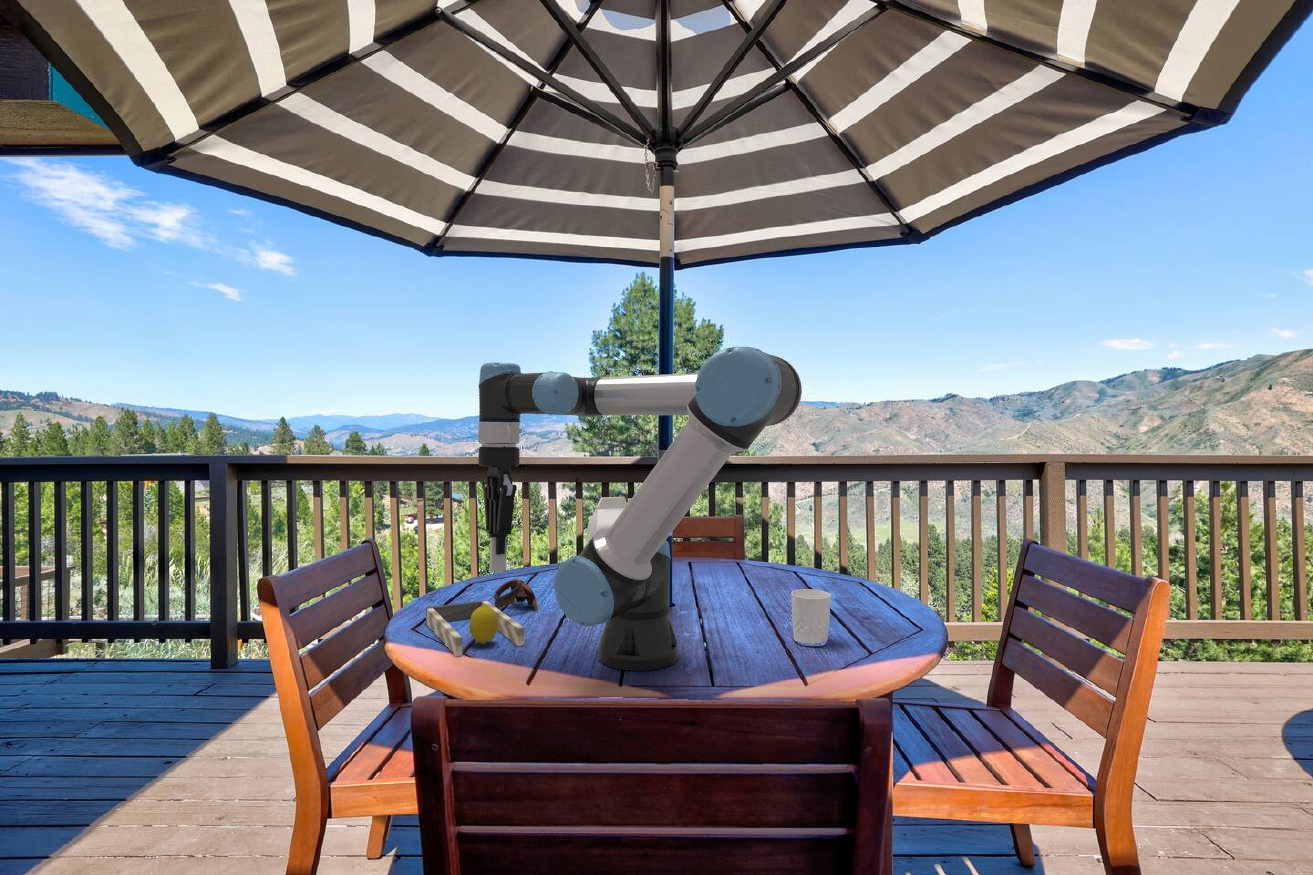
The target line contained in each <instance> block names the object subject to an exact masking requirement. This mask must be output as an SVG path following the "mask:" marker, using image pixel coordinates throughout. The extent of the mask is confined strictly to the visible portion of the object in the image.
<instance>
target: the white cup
mask: <svg viewBox="0 0 1313 875" xmlns="http://www.w3.org/2000/svg"><path fill="white" fill-rule="evenodd" d="M790 597H791V598H790V599H791V621H792V629H793V631H792V633H793V638H794V640H795V641H798V642H802V643H812V644H814V643H822V642H825V641H827V640H829V639H828V638H829V628H830V617H831V599H832V598H831V597H832V596H831V593H829V592H827V591H824V590H819V589H808V588H805V589H804V588H803V589H796V590H792V591H791V593H790ZM793 638H792V639H793ZM794 640H793V641H794Z"/></svg>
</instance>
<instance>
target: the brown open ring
mask: <svg viewBox="0 0 1313 875" xmlns="http://www.w3.org/2000/svg"><path fill="white" fill-rule="evenodd" d="M509 589H510V591H509V592H507V593H505V594H503V593H504V592H506V591H507V590H509ZM494 593H495V594H493V596H492V597H493V599H494V606H495V607H496V608H497V609H499V610H500V608H503V607H507V606H509V605H514V606H516V604H517V603H524V602H525V601H526V602H527V603H526V604H527V606H528V607H531V606H533V609H534V611H535V612H537V610H538V608H539V606H538V604H537V598H536V595H535V594H534V591H533V590H532V588H531V587H530V586H529V585H528V584H526V583H525V582H524V581H523V580H522V579H519V578H516V579H511V580H508V581H506V582H505V583H503V584H502V585H501V586H499V587H498V588H497V589H496V590H495V592H494ZM502 594H503V595H502ZM516 602H517V603H516Z"/></svg>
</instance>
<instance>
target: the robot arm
mask: <svg viewBox="0 0 1313 875" xmlns="http://www.w3.org/2000/svg"><path fill="white" fill-rule="evenodd" d="M479 369H480V370H479V371H480V372H479V381H478V396H479V398H478V399H479V402H478V404H479V405H478V406H479V407H478V410H479V411H478V413H479V414H478V415H479V417H478V418H479V419H478V436H477V437H478V441H477V442H478V443H479V444H481V446H479V448H478V459H477V462H478V465H479V466H480V467H482V468H487V473H486V476H485V480H482V482H481V485H482V490H483V499H484V501H483V502H484V516H485V517H484V518H485V530H486V531H487V532H488V534H489V535H488V536H489V571H490V572H491V573H497V572H506V571H507V537H508V535H511V534H512V526H513V518H514V508H515V507H514V506H515V498H516V497H515V496H516V493H517V489H518V488H517V484H513V476H512V473H511V468H517V467H518V466H519V465H520V459H521V458H520V456H521V455H520V450H521V449H520V448H519V447H518V446H517V445H518V444H519V443H520V434H521V433H522V432H523V429H522V428H520V426H521V425H520V423H521V415H549V416H553V415H555V416H556V415H557V416H578V417H587V418H588V417H589V418H593V417H598V416H599V417H602V416H603V417H604V416H688V419H687V422H686V423H685V424H684V426H683V427H682V428H681V429H680V432H679V433H678V434H677V436H676V437H675V438H674V439H673V441H672V442H671V443H670V445H669V446H668V448H667V450H666V451H665V452H664V453H663V455H662V456H661V458H660V459H659V460H658V461H657V463H656V464H655V466H654V467H653V468H652V470H651V471H650V472H649V474H648V475H647V477H646V478H645V480H644V481H643V482H642V483H641V485H640V486H639V488H638V489H637V491H636V492H635V493H634V495H633V496H632V497H631V499H630V500H629V502H628V503H627V506H626V507H625V508H624V510H623V511H622V513H621V514H620V515H619V517H618V518H617V519H616V521H615V522H614V524H613V525H612V526H611V528H610V529H606V530H599V531H597V532H596V533H595V534H594V536H593V537H592V539H591V540H590V541H589V543H588V544H587V543H586V545H585V547H584V548H583V550H582V551H581V552H580V553H579V554H578V555H574V556H571V557H569V558H567V559H566V560H565V561H563V562H562V563H561V564H560V565H559V567H558V568H557V570H556V573H555V576H554V581H553V582H554V584H553V585H554V586H553V587H554V591H555V593H556V594H555V598H556V602H557V604H558V606H559V608H560V609H561V611H562V612H563V613H564V615H565V616H566V617H567V618H568V619H569V620H571V621H572V622H573V623H575V624H578V625H579V626H584V627H593V626H596V625H601V624H604V623H605V625H604V627H603V631H602V634H601V636H600V641H599V644H598V647H597V648H598V649H597V650H598V652H597V653H598V655H597V657H598V660H599V662H601V663H602V664H604V665H606V666H607V667H610V668H614V669H618V670H624V671H634V672H635V671H636V672H638V671H653V670H658V669H663V668H666V667H669V666H671V665H673V664H674V663H676V662H677V660H678V659H679V645H678V641H677V638H676V635H675V631H674V628H673V626H672V623H671V622H672V621H671V618H670V587H671V586H670V582H671V580H670V578H671V577H670V576H671V575H670V573H671V572H670V571H671V570H670V569H671V568H670V567H671V560H672V559H671V558H672V557H671V554H670V542H668V541H667V539H668V537H669V536H670V535H671V534H672V533H673V531H674V530H675V529H676V527H677V526H678V525H679V524H680V522H681V521H682V519H683V518H684V517H685V515H686V514H687V513H688V511H690V509H691V508H692V506H693V505H694V504H695V502H696V501H697V500H698V499H699V497H700V496H701V494H702V493H703V492H704V491H705V489H706V488H707V487H708V486H709V484H710V483H711V482H712V481H713V479H714V478H715V477H716V476H717V474H718V472H719V471H720V470H721V468H722V467H723V466H724V465H725V463H727V461H728V459H729V458H730V457H731V456H732V454H733V453H736V452H737V453H738V452H745V451H747V450H748V449H749V448H750V447H751V445H752V444H753V443H754V442H755V441H756V439H757V438H758V437H759V436H760V434H761V433H762V431H763V430H764V429H765V428H766V427H769V426H775V425H779V424H781V423H783V422H784V421H786V420H788V419H789V418H790V417H791V416H792V415H793V414H795V411H796V410H797V409H798V406H799V404H800V403H801V399H802V393H803V392H802V391H803V390H802V389H803V388H802V381H801V378H800V375H799V374H798V372H797V370H796V369H795V368H794V366H793V365H792V364H791V363H790V362H788V361H787V360H785V359H784V358H782V357H779V356H777V355H773V354H769V353H767V352H766V351H765V352H764V351H763V350H761V349H760V348H755V347H751V346H730V347H725V348H723V349H721V350H719V351H717V352H714V354H712V355H711V356H710V357H708V358H707V359H706V361H704V363H703V364H702V365H701V367H700V369H699V371H698V373H697V372H694V373H693V372H692V373H675V374H674V373H672V374H671V373H670V374H651V375H649V374H648V375H647V374H645V375H643V374H642V375H628V376H627V375H625V376H623V375H621V376H600V377H599V376H596V377H592V376H591V377H581V376H580V377H578V376H577V377H576V376H572V375H571V374H570V373H567V372H564V371H563V372H562V371H561V372H560V371H549V370H548V371H546V372H530V373H529V372H528V373H526V372H525V373H524V372H523V373H522V372H521V371H522V370H521V366H520V365H519V364H517V363H513V362H503V361H501V362H496V361H495V362H491V361H490V362H486V363H485V362H484V363H483V364H482V365H481V366H480V368H479Z"/></svg>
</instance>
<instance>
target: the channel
mask: <svg viewBox="0 0 1313 875" xmlns="http://www.w3.org/2000/svg"><path fill="white" fill-rule="evenodd" d="M482 605H486V606H488V607H491V608H492V609H493V610H494V611H495V612H496V615H497V618H498V629H497V631H499V632H500V633H501V634H502V635H503V636H505V637H506V638H507V639H508V640H510V641H511V642H512V643H513V644H514V645H516V646H517V647H522V646H524V642H525V639H524V637H525V634H524V633H525V627H523V626H522V625H520V624H519V623H518V622H517V621H516V620H514V619H513V618H512V617H510V616H508V615H507V614H505V613H504V612H503V611H501V610H500V608H499V609H497V608H496V607H495V605H494V604H493V603H490V602H489V601H488V600H486V599H483V600H475V601H474V600H473V601H467V602H466V601H465V602H459V603H458V602H457V603H451V604H445V605H444V604H443V605H435V606H426V607H425V624H426V625H427V626H428V628H429V629H430V630H431V631H432V632H433V631H434V632H433V633H434V634H435V635H436V637H437V638H438V637H439V638H440V639H439V638H438V639H439V640H440V641H441V642H442V641H443V642H444V643H445V644H444V643H443V642H442V643H443V644H444V645H445V647H446V648H447V647H448V648H449V649H448V648H447V649H448V650H449V651H450V653H452V652H453V653H452V655H454V657H455V658H457V656H458V657H462V656H463V636H461V635H460V634H459V632H458V631H457V630H456V629H454V627H452V625H450V624H449V623H448V622H455V621H463V620H464V621H465V620H469V619H471V615H472V613H473V612H474V611H475V610H476V609H477V608H479V607H481V606H482Z"/></svg>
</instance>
